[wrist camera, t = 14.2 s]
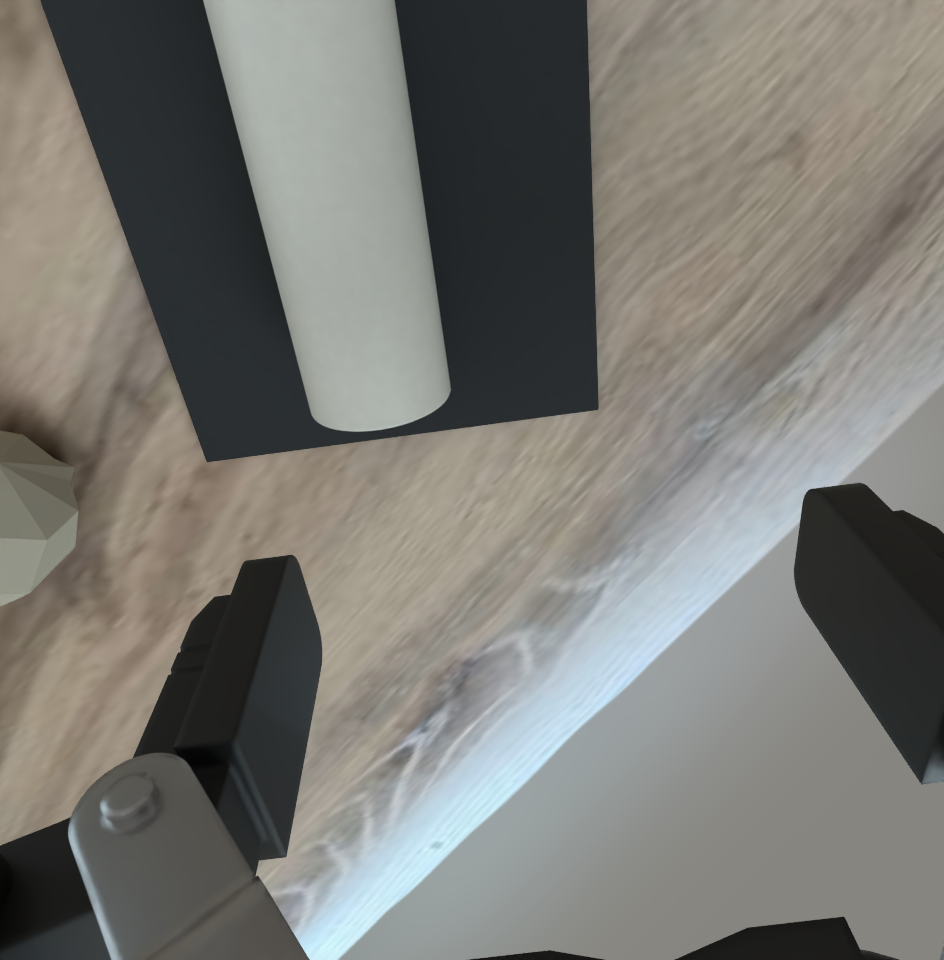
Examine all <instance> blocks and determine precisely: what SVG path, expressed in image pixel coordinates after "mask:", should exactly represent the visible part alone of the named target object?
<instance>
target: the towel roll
mask: <svg viewBox="0 0 944 960" xmlns="http://www.w3.org/2000/svg"><path fill="white" fill-rule="evenodd" d="M203 2H204V6H205V9H206V13H207V17H208V21H209V25H210V28H211V32H212V36H213V40H214V44H215V48H216V51H217V55H218V59H219V63H220V67H221V71H222V74H223V78H224V82H225V86H226V90H227V93H228V97H229V101H230V105H231V109H232V113H233V116H234V120H235V124H236V128H237V132H238V136H239V139H240V143H241V147H242V151H243V155H244V159H245V162H246V166H247V170H248V174H249V178H250V181H251V185H252V189H253V193H254V197H255V201H256V204H257V208H258V212H259V216H260V220H261V224H262V227H263V231H264V235H265V239H266V243H267V247H268V250H269V254H270V258H271V262H272V266H273V269H274V273H275V277H276V281H277V285H278V289H279V292H280V296H281V300H282V304H283V308H284V312H285V315H286V319H287V323H288V327H289V331H290V334H291V338H292V342H293V346H294V350H295V354H296V357H297V361H298V365H299V369H300V373H301V377H302V380H303V384H304V388H305V392H306V396H307V400H308V403H309V407H310V411H311V415H312V416H313V418H314V419H315V420H316V421H317V422H318V423H320V424H321V425H323V426H325V427H328V428H331V429H335V430H341V431H352V432H362V431H374V430H382V429H387V428H392V427H396V426H400V425H404V424H407V423H410V422H413V421H415V420H418V419H420V418H422V417H425V416H427V415H428V414H430V413H432V412H433V411H435V410H436V409H438V408H439V407H440V406H441V405H443V404H444V402H445V401H446V400H447V398H448V397H449V394H450V391H451V386H450V379H449V372H448V365H447V358H446V351H445V344H444V337H443V331H442V324H441V317H440V310H439V303H438V296H437V289H436V282H435V275H434V268H433V262H432V255H431V248H430V241H429V234H428V227H427V220H426V213H425V206H424V199H423V193H422V186H421V179H420V172H419V165H418V158H417V151H416V144H415V137H414V130H413V124H412V117H411V110H410V103H409V96H408V89H407V82H406V75H405V68H404V61H403V55H402V48H401V41H400V34H399V27H398V20H397V13H396V6H395V0H203Z"/></svg>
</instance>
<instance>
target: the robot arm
mask: <svg viewBox="0 0 944 960" xmlns="http://www.w3.org/2000/svg"><path fill="white" fill-rule="evenodd" d="M794 579H795V585H796V590H797V593H798V597H799V599H800V602H801V604H802V606H803V608H804V609H805V611H806V612H807V614H808V615H809V617H810V618H811V620H812V621H813V623H814V624H815V626H816V627H817V629H818V630H819V632H820V633H821V635H822V636H823V638H824V639H825V641H826V642H827V643H828V645H829V647H830V648H831V650H832V651H833V653H834V654H835V656H836V657H837V659H838V660H839V662H840V663H841V665H842V666H843V668H844V669H845V671H846V672H847V674H848V675H849V677H850V678H851V679H852V681H853V682H854V684H855V686H856V687H857V689H858V690H859V692H860V693H861V695H862V696H863V697H864V699H865V701H866V702H867V704H868V705H869V706H870V708H871V709H872V711H873V713H874V714H875V716H876V717H877V718H878V720H879V721H880V723H881V725H882V726H883V727H884V729H885V730H886V732H887V734H888V735H889V737H890V738H891V739H892V741H893V742H894V744H895V745H896V747H897V748H898V750H899V751H900V753H901V754H902V756H903V757H904V759H905V760H906V762H907V763H908V765H909V766H910V768H911V769H912V771H913V772H914V774H915V775H916V777H917V778H918V779H919V781H920V783H921V784H929V783H938V782H944V534H943V533H942V532H941V531H940V530H939V529H938V528H937V527H935V526H933V525H931V524H929V523H927V522H925V521H923V520H921V519H919V518H917V517H915V516H913V515H911V514H910V513H907V512H905V511H903V510H900V511H892V510H891V509H890V508H889V507H888V506H887V505H886V504H885V503H884V502H883V501H882V500H881V499H880V498H879V497H878V496H877V495H876V494H875V493H874V492H873V491H872V490H871V489H870V488H869V487H868V486H866V485H865V484H862V483H855V484H847V485H839V486H831V487H824V488H816V489H810V490H808V492H807V493H806V495H805V497H804V500H803V505H802V513H801V520H800V528H799V536H798V543H797V551H796V558H795V566H794ZM180 648H181V652H180V653H178V654H177V656H176V659H175V661H174V663H173V666H172V668H171V675H168V677H167V680H166V682H165V684H164V687H163V689H162V691H161V694H160V696H159V698H158V701H157V703H156V705H155V708H154V710H153V712H152V715H151V717H150V719H149V722H148V724H147V726H146V729H145V731H144V733H143V736H142V738H141V740H140V743H139V745H138V747H137V750H136V752H135V754H134V757H133V758H132V759H130V760H127V761H125V762H123V763H121V764H120V765H118V766H116V767H114V768H113V769H111V770H110V771H108V772H107V773H105V774H104V775H103V776H102V777H100V778H99V779H98V780H97V781H96V782H95V783H94V784H93V785H92V786H91V787H90V788H89V789H88V790H87V791H86V792H85V794H84V795H83V796H82V797H81V799H80V800H79V802H78V804H77V805H76V807H75V809H74V811H73V813H72V816H71V817H70V818H68V819H66V820H63V821H61V822H59V823H56V824H54V825H51V826H49V827H46V828H44V829H41V830H39V831H36V832H34V833H31V834H29V835H26V836H24V837H21V838H19V839H16V840H13V841H11V842H8V843H6V844H3V845H1V846H0V960H309V958H308V957H307V955H306V953H305V952H304V950H303V948H302V947H301V945H300V943H299V942H298V940H297V938H296V937H295V935H294V933H293V932H292V930H291V928H290V927H289V925H288V923H287V922H286V920H285V918H284V917H283V915H282V913H281V912H280V910H279V908H278V907H277V905H276V903H275V902H274V900H273V898H272V897H271V895H270V894H269V892H268V890H267V889H266V887H265V886H264V884H263V882H262V881H261V879H260V878H259V877H258V876H257V877H256V876H255V875H256V871H257V866H258V862H259V860H266V859H274V858H283V857H286V856H287V850H288V845H289V839H290V834H291V829H292V823H293V818H294V812H295V807H296V802H297V796H298V791H299V785H300V780H301V774H302V769H303V764H304V758H305V753H306V747H307V742H308V737H309V731H310V726H311V720H312V715H313V710H314V704H315V699H316V693H317V688H318V682H319V677H320V672H321V666H322V642H321V635H320V630H319V626H318V623H317V619H316V616H315V613H314V610H313V607H312V603H311V600H310V597H309V594H308V591H307V587H306V584H305V581H304V578H303V575H302V571H301V568H300V565H299V563H298V561H297V559H296V557H295V556H294V555H287V556H279V557H272V558H264V559H256V560H249V561H245V562H244V563H243V565H242V567H241V569H240V572H239V574H238V577H237V580H236V582H235V585H234V588H233V590H232V593H231V595H225V596H218V597H214V598H213V599H212V600H211V601H210V602H209V603H208V604H207V605H206V606H205V607H204V609H203V610H202V611H201V612H200V613H199V614H198V615H197V616H196V617H195V618H194V619H193V620H192V621H191V624H190V626H189V628H188V631H187V633H186V635H185V638H184V640H183V642H182V645H181V647H180ZM471 960H603V959H597V958H591V957H585V956H579V955H573V954H567V953H561V952H555V951H550V950H549V951H542V952H532V953H523V954H514V955H506V956H497V957H488V958H480V959H471ZM675 960H898V959H895V958H892V957H888V956H885V955H881V954H878V953H874V952H871V951H866V950H860V949H859V947H858V945H857V942H856V940H855V938H854V936H853V934H852V932H851V930H850V928H849V926H848V924H847V921H846V919H845V917H838V918H829V919H821V920H812V921H803V922H794V923H786V924H776V925H768V926H759V927H750V928H746V929H744V930H742V931H739V932H737V933H735V934H732V935H730V936H728V937H726V938H723V939H721V940H719V941H716V942H714V943H712V944H709V945H707V946H705V947H703V948H700V949H698V950H696V951H694V952H691V953H689V954H687V955H685V956H682V957H680V958H678V959H675ZM940 960H944V945H943V949H942V953H941V957H940Z"/></svg>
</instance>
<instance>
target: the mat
mask: <svg viewBox="0 0 944 960" xmlns="http://www.w3.org/2000/svg"><path fill="white" fill-rule="evenodd" d="M41 3H42V6H43V9H44V11H45V14H46V17H47V20H48V23H49V25H50V28H51V31H52V34H53V36H54V39H55V42H56V45H57V48H58V50H59V53H60V56H61V59H62V61H63V64H64V67H65V70H66V73H67V75H68V78H69V81H70V84H71V86H72V89H73V92H74V95H75V97H76V100H77V103H78V106H79V109H80V111H81V114H82V117H83V120H84V122H85V125H86V128H87V131H88V134H89V136H90V139H91V142H92V145H93V147H94V150H95V153H96V156H97V159H98V161H99V164H100V167H101V170H102V172H103V175H104V178H105V181H106V184H107V186H108V189H109V192H110V195H111V197H112V200H113V203H114V206H115V208H116V211H117V214H118V217H119V220H120V222H121V225H122V228H123V231H124V233H125V236H126V239H127V242H128V245H129V247H130V250H131V253H132V256H133V258H134V261H135V264H136V267H137V270H138V272H139V275H140V278H141V281H142V283H143V286H144V289H145V292H146V295H147V297H148V300H149V303H150V306H151V308H152V311H153V314H154V317H155V320H156V322H157V325H158V328H159V331H160V333H161V336H162V339H163V342H164V344H165V347H166V350H167V353H168V356H169V358H170V361H171V364H172V367H173V369H174V372H175V375H176V378H177V381H178V383H179V386H180V389H181V392H182V394H183V397H184V400H185V403H186V406H187V408H188V411H189V414H190V417H191V419H192V422H193V425H194V428H195V431H196V433H197V436H198V439H199V442H200V444H201V447H202V450H203V453H204V455H205V458H206V461H207V462H212V461H219V460H227V459H234V458H242V457H249V456H257V455H264V454H272V453H279V452H286V451H294V450H301V449H309V448H316V447H324V446H331V445H339V444H346V443H354V442H361V441H368V440H376V439H383V438H391V437H398V436H406V435H413V434H421V433H428V432H436V431H443V430H450V429H458V428H465V427H473V426H480V425H488V424H495V423H503V422H510V421H518V420H525V419H532V418H540V417H547V416H555V415H562V414H570V413H577V412H585V411H592V410H598V375H597V341H596V306H595V272H594V238H593V203H592V169H591V134H590V100H589V66H588V31H587V0H395V6H396V13H397V20H398V27H399V34H400V41H401V48H402V55H403V61H404V68H405V75H406V82H407V89H408V96H409V103H410V110H411V117H412V124H413V130H414V137H415V144H416V151H417V158H418V165H419V172H420V179H421V186H422V193H423V199H424V206H425V213H426V220H427V227H428V234H429V241H430V248H431V255H432V262H433V268H434V275H435V282H436V289H437V296H438V303H439V310H440V317H441V324H442V331H443V337H444V344H445V351H446V358H447V365H448V372H449V379H450V386H451V391H450V394H449V397H448V398H447V400H446V401H445V402H444V404H443V405H441V406H440V407H439V408H438V409H436V410H435V411H433V412H432V413H430V414H428V415H427V416H425V417H422V418H420V419H418V420H415V421H413V422H410V423H407V424H404V425H400V426H396V427H392V428H387V429H382V430H374V431H362V432H352V431H341V430H335V429H331V428H328V427H325V426H323V425H321V424H320V423H318V422H317V421H316V420H315V419H314V418H313V416H312V415H311V411H310V407H309V403H308V400H307V396H306V392H305V388H304V384H303V380H302V377H301V373H300V369H299V365H298V361H297V357H296V354H295V350H294V346H293V342H292V338H291V334H290V331H289V327H288V323H287V319H286V315H285V312H284V308H283V304H282V300H281V296H280V292H279V289H278V285H277V281H276V277H275V273H274V269H273V266H272V262H271V258H270V254H269V250H268V247H267V243H266V239H265V235H264V231H263V227H262V224H261V220H260V216H259V212H258V208H257V204H256V201H255V197H254V193H253V189H252V185H251V181H250V178H249V174H248V170H247V166H246V162H245V159H244V155H243V151H242V147H241V143H240V139H239V136H238V132H237V128H236V124H235V120H234V116H233V113H232V109H231V105H230V101H229V97H228V93H227V90H226V86H225V82H224V78H223V74H222V71H221V67H220V63H219V59H218V55H217V51H216V48H215V44H214V40H213V36H212V32H211V28H210V25H209V21H208V17H207V13H206V9H205V6H204V2H203V0H41Z"/></svg>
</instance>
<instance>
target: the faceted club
mask: <svg viewBox="0 0 944 960" xmlns="http://www.w3.org/2000/svg"><path fill="white" fill-rule="evenodd" d="M74 470H75V467H73V466H70V465H68V464H66V463H63V462H61V461H59V460H56V459H54V458H53V457H52V456H50V455H49V454H48V453H46V452H45V451H44V450H42V449H41V448H40V447H38V446H37V445H36V444H35V443H33V442H32V441H31V440H29V439H28V438H27V437H25V436H24V435H23V434H17V433H10V432H4V431H0V606H2V605H5V604H7V603H9V602H12V601H14V600H16V599H18V598H21V597H23V596H25V595H27V594H29V593H30V592H31V591H32V590H33V589H34V588H35V587H36V586H37V585H38V584H39V583H40V582H41V581H42V580H43V579H44V578H45V577H46V576H47V575H48V574H49V573H50V572H51V571H52V570H53V569H54V568H55V567H56V566H57V565H58V564H59V563H60V562H61V561H62V560H63V559H64V558H65V557H66V556H67V555H68V554H69V553H70V552H71V551H72V550H73V549H74V548H75V544H76V533H77V522H78V507H77V503H76V499H75V495H74V491H73V488H72V484H71V479H72V476H73V473H74Z"/></svg>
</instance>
